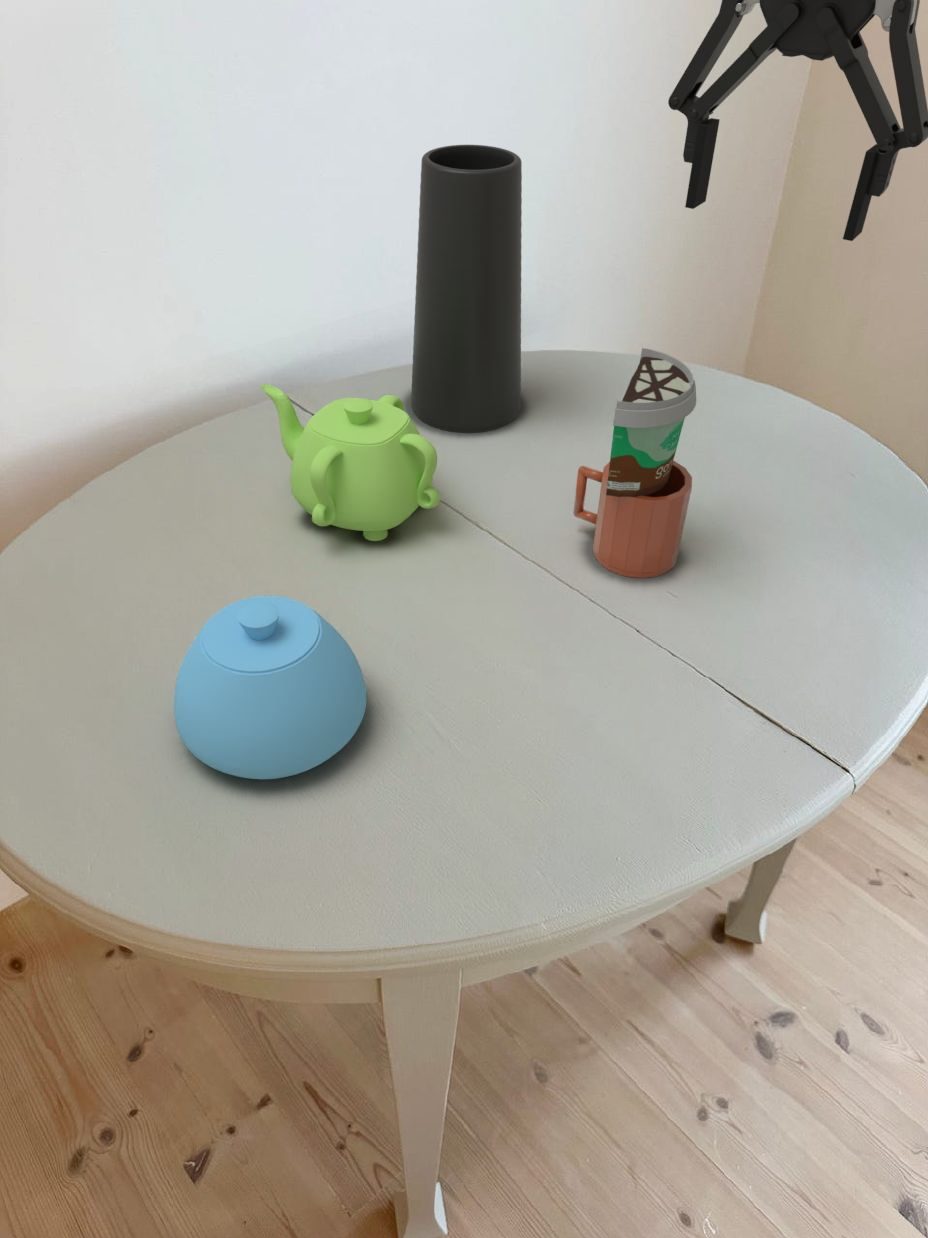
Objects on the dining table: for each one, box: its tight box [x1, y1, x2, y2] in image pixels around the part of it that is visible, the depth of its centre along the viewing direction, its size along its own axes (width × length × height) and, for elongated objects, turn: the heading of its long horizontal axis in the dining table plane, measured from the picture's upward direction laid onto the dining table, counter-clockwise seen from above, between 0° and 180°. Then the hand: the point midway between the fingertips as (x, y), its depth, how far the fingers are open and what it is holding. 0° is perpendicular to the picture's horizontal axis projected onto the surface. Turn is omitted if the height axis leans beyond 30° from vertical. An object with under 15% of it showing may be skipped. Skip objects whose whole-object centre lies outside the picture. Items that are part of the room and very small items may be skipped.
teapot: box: [260, 384, 441, 542], centre depth 97 cm, size 16×14×13 cm
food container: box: [606, 347, 697, 497], centre depth 87 cm, size 12×6×10 cm, turn 161°
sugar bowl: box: [173, 595, 367, 780], centre depth 74 cm, size 15×15×12 cm
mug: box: [572, 460, 693, 579], centre depth 94 cm, size 11×8×9 cm
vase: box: [410, 144, 523, 433], centre depth 110 cm, size 14×14×29 cm
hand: (770, 219), depth 80 cm, fingers open, 13 cm apart
